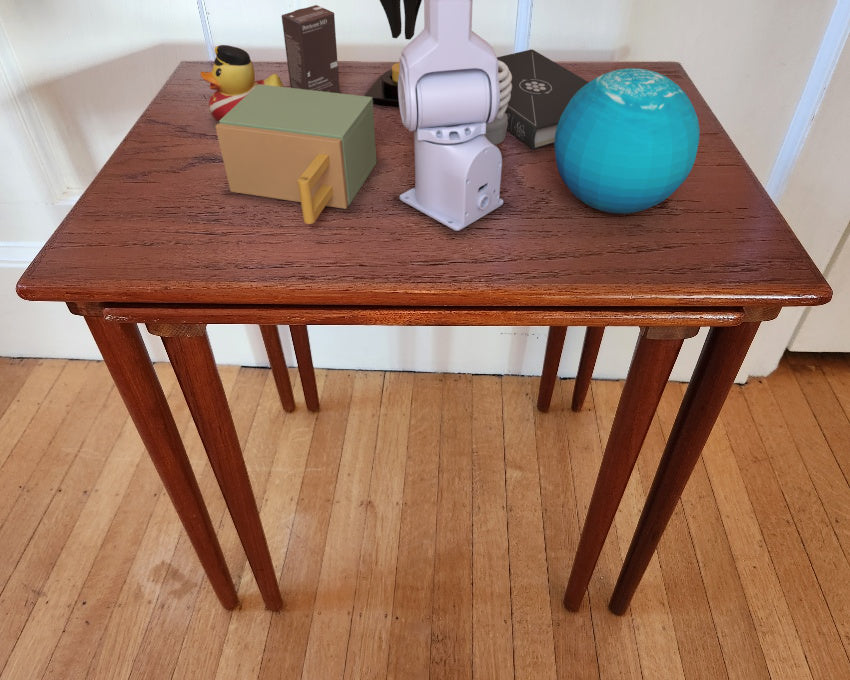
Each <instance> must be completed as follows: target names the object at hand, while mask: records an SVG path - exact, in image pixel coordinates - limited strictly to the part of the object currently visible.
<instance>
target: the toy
mask: <svg viewBox="0 0 850 680" xmlns="http://www.w3.org/2000/svg"><path fill="white" fill-rule="evenodd" d="M214 53H215V55H216V57H215V58H214V61H213V66H212V69H211V71H209V72H208V71H200V77H201V79H202V80H203V81H205V82H207V83H209V89H210V90H212V91H214V92H213V93H212V94H211V96H210V97H209V99H208V109H209V112H210V115H211V116H212V118H213V119H214V120H215V121H216V122H218V123H220V122H219V121H220V120H221V119H222V118H223V117H224V116H225V115H226V114H227V113H228V112H229V111H230V110H231V109H232V108H234V107H235V106H236V105H237V104H238V103H239V102H240V101H241V100H242V99H243V98H244V97H245V96H246V95H247V94H249V93H250V92H251V91H252V90H253V89H254V88H255V87H256V86H257V85H258V84H261V85H270V86H279V87H285V86H284V83H283V82H282V79H281V77H280V75H279V74H277V73H272V74H271V75H269V76H268V77H267V78H265V79H261V80H260V79H259V80H256V74H255V67H254V64H253V62H252V60H251V57H250V54H249V53H248V51H246V50H244V49H242V48H240V47H236V46H232V45H229V44H219V45H217V46H215V48H214Z"/></svg>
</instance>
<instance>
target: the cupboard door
mask: <svg viewBox="0 0 850 680" xmlns="http://www.w3.org/2000/svg"><path fill="white" fill-rule="evenodd" d="M214 128H215V131H216V137H217V140H218V144H219V149H220V153H221V157H222V161H223V166H224V170H225V174H226V179H227V182H228V183H227V184H228V187H229V190H230V192H231V193H235V194H236V193H237V194H243V195H250V196H257V197H263V198H269V199H277V200H283V201H291V202H296V203H300V204H301V212H302V219H303V223H305V224H306V225H311V224H312V225H313V224H314V223H315V222H316V221H317V219H318V218H319V216H320V214H321V213H322V212H323V210H324V209H325V207H330V208H338V209H343V210H347V209H348V207H349V205H348V197H347V187H346V177H345V167H344V158H343V148H342V139H337V138H329V137H322V136H314V135H306V134H298V133H290V132H283V131H275V130H267V129H259V128H251V127H243V126H236V125H228V124H220V123H219V122H218V123H217V124H216V125H214Z"/></svg>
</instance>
